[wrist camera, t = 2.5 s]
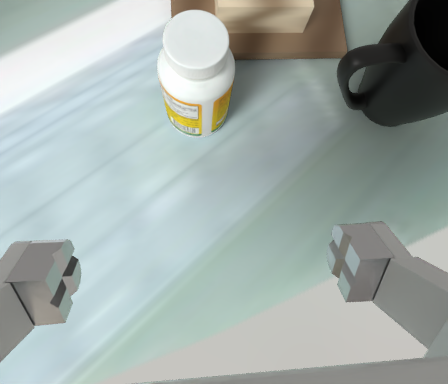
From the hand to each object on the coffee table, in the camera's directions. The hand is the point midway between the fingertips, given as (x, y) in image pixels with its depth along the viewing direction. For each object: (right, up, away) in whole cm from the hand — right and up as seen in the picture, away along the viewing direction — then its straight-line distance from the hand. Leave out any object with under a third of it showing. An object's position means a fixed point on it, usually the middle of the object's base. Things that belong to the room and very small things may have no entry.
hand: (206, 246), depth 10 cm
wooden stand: (+4, +20, +21) cm, 29 cm away
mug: (+14, +10, +20) cm, 26 cm away
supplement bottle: (-2, +9, +18) cm, 20 cm away
